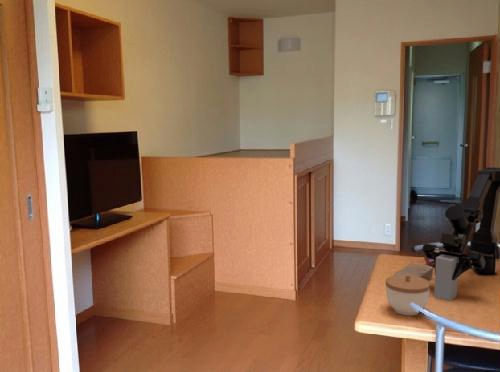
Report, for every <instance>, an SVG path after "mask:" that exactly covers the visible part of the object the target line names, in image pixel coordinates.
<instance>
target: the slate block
mask: <svg viewBox="0 0 500 372" xmlns="http://www.w3.org/2000/svg"><path fill="white" fill-rule="evenodd" d="M458 261H459V259H458V257H454V256H449V255H444V254H443V255H440V256H438V257H436V270H435V269H434V277H435V278H434V295H433V297H434V298H438V299H442V300H445V301H449V302H450V301H452V300H454V299H456V298H457V294H458V293H457V290H458V287H457V286H458V278H456V279H455V280H452V277H453V274H454V271H455V269H456V267H457V265H458Z"/></svg>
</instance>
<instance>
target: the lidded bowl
mask: <svg viewBox="0 0 500 372" xmlns="http://www.w3.org/2000/svg"><path fill="white" fill-rule="evenodd" d="M430 288H431V282H430V280H429V281H427V280H426V279H423V278H420V277H416V276H411V275H395V276H394V275H391V276H387V278H386V279H385V295H386V300H387V302H388V303H389V305H390V306H391V308H392V309H393V310H394V312H395V313H396V314H399V315H403V316H417V315H418V314H417V312H415V311H414V310H413V309H412V308H411V307H410V305H409V304H410V303H412V302H414V303H415V304H417V305H419V306H420V307H422V308H424V309H425V308H426V306H427V305H428V302H429V298H430V291H431V289H430Z"/></svg>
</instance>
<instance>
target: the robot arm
mask: <svg viewBox="0 0 500 372" xmlns="http://www.w3.org/2000/svg"><path fill="white" fill-rule="evenodd" d="M476 177H477V178H476V179H475V182H474V184H473V186H472V188H471V191H470V193H469V195H468V197H467V198H466V199H465V200H463V201H462V202H460V203H457V202H456V203H454V205H453V206H450V207H448V208H447V209H445V212H444V216H445V218H446V220H447V222H448V224H449V226H450V228H451V229H452V231H451V233H444V232H442V233H441V235H440V240H439V243H440V244H442V248H443V249H441V248H439V247H438V246H437V244H433V243H427V242H426V243H424V244H423V245H422V248H421V251H422V252H423V254H424V255H425V256H426V257H427V258H429V259H434V262H435V263H434V271H435V270H436V257H438V256H440V255H443V254H444V255H449V256H454V257H458V265H457V267H456V269H455V271H454V274H453V277H452V280H455V279H456V278H457V279H458V278H460V276H461V275H463V274H464V273H466V272H467V271H468V270H473V271H474V272H475V273H476V274H477V275H481V276H482V275H483V276H488V275H489V276H497V275H498V273H497V272H496V263H497V262H496V260H500V247H499V245H498V237H497V235H496V234H495V232H494V229H495V223H496V217H497V210H498V205H499V199H500V167H496V166H495V167H492V166H491V167H490V166H486V167H485V168H484V169H479V170H478V172H477V175H476ZM479 223H480V224H479ZM473 224H475V225H476V224H479V228H478V229H477V230H476V231H474V227H473ZM471 237H472V238H471ZM470 239H471V240H470ZM469 243H470V244H469ZM468 248H470V250H469V251H468V252H467V254H465V251H466V250H467V249H468Z"/></svg>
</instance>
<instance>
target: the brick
mask: <svg viewBox="0 0 500 372" xmlns="http://www.w3.org/2000/svg"><path fill="white" fill-rule="evenodd" d="M433 271H434V267H433V266H432V265H427V264H421V263H420V264H419V263H412V262H411V263H408V264H407V265H406V266H405V267H403V268H401V269H400V270H398V271H396V272H395V273H393V276H395V275H411V276H416V277H420V278H423V279H426V280H427V281H429V282H430V280H431V279H432V277H433V275H434V274H433V273H434V272H433Z"/></svg>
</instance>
